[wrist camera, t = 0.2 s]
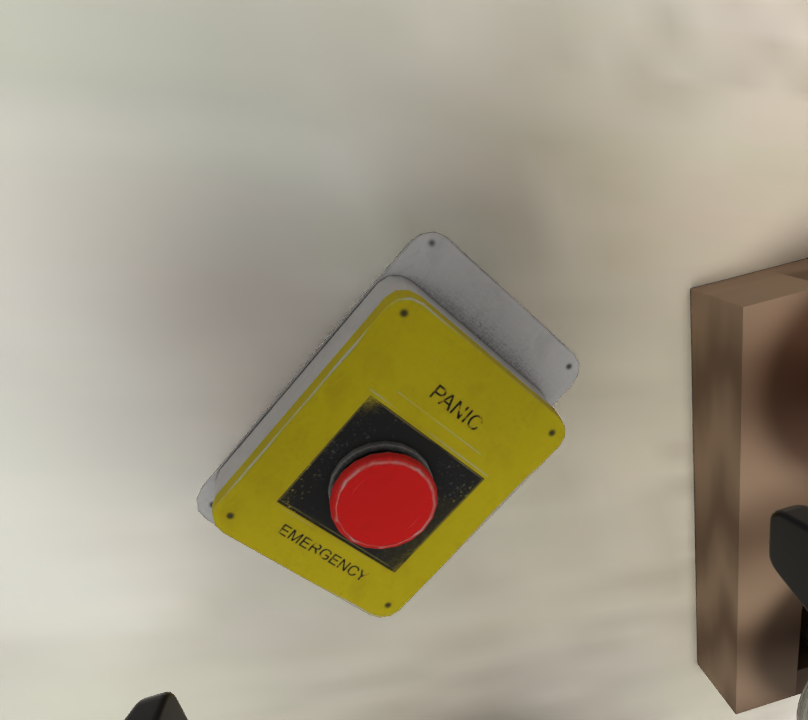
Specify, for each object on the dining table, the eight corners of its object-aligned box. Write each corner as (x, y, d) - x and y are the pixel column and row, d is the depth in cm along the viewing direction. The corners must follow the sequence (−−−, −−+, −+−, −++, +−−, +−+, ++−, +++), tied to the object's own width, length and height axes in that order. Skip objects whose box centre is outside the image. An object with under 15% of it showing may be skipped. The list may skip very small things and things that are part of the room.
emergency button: (162, 571, 19) (453, 233, 17) (188, 498, 23) (425, 218, 21) (368, 676, 22) (638, 403, 20) (359, 596, 26) (582, 361, 24)
